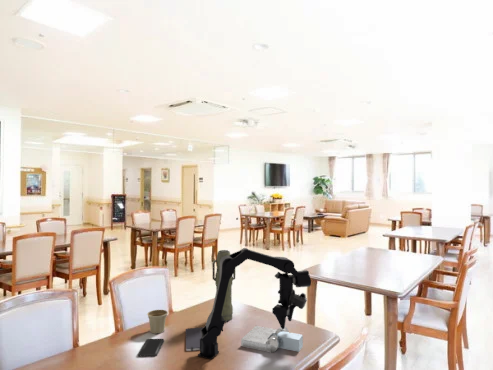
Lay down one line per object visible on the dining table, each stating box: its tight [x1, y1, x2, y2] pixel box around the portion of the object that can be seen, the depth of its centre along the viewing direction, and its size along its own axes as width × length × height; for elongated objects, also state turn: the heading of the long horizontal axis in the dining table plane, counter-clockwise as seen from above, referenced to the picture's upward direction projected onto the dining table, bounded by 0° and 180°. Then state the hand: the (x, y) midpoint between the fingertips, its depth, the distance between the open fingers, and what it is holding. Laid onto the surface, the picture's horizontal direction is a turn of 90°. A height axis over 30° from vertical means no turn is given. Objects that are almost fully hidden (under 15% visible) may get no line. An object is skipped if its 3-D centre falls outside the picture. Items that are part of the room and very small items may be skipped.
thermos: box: [212, 249, 236, 323], centre depth 177 cm, size 9×12×35 cm
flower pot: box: [146, 309, 169, 334], centre depth 161 cm, size 9×9×9 cm
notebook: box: [185, 326, 204, 352], centre depth 152 cm, size 13×2×21 cm
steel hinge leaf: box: [240, 325, 289, 353], centre depth 149 cm, size 16×16×5 cm
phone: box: [137, 338, 165, 358], centre depth 144 cm, size 8×1×15 cm
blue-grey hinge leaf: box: [276, 331, 304, 353], centre depth 145 cm, size 11×6×5 cm, turn 65°
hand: (286, 324), depth 145 cm, fingers open, 9 cm apart
